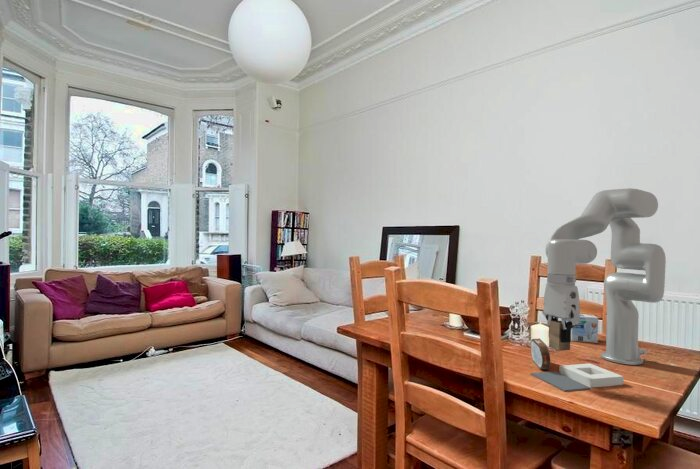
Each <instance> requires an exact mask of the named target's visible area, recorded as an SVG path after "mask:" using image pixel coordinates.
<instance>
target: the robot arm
mask: <svg viewBox="0 0 700 469" xmlns="http://www.w3.org/2000/svg"><path fill="white" fill-rule="evenodd" d="M658 201H659V200H658V198H657V197H656V196H655V195H654V193H652V192H651V191H646V190H642V189H638V188H629V187H628V188H616V189H605V190H604V189H603V190H601V191H599V192H596V193H595V194H594V195H593V197H592V198H591V200H589V203H587V205H586V207H585V208H584V209H583V211H582V213H581V214H580V215H579V216H578V217H575V218H574V219H571V220H570V221H568V222H567V223H564V224H562V225H561V226H560V227H557V228H556V230H555V231H554V232H553V233H552V235H551V236H550V238H549V239H548V241H547V243H546V245H545V246H546V247H545V255H546V258H547V269H546V270H547V272H546V274H547V275H546V276H547V279H546V283H545V290H544V297H543V309H542V311H541V313H542V315H543V316H544V317H545V319H546V321H547V325H548V328H549V327H550V321H559V319H561V320H560V321H562V328H563V329H561V342H562V343H565V342H570V343H571V342H572V341H571V329H573V327H574V326H575V325H576V324H578V323H579V322H580V319H579V317H580V314H581V313H580V312H581V309H580V305H581V304H580V295H579V290H578V286H577V285H576V282H577V279H576V267H577V266H576V265H577V264H580V265H583V264H584V265H585V264H589V263H591V262H593V261H594V260H595V259H596V257H597V255H598V249H597V246H596V244H595V243H594V242H592V241H590V240H589V239H585V238H590V237H592V236H596V235H598V234H599V235H600V234H601V233H603V232H605V230H606V229H607V228H608V227H610V230H611V241H610V242H611V243H610V244H611V245H610V262H611V264H612V266H613V267H615V268H618V269H622V270H632V271H633V270H634V271H635V270H636V271H643V272H645V274H643V273H631V272H612V273H609V274H607V275H606V276H605V279H604V281H603V287H604V293H605V298H606V300H605V301H606V330H605V335H606V338H605V342H606V343H605V351H602V352H600V356H601V358H602V359H604V360H606V361H609V362H613V363H616V364H622V365H632V366H637V365H642V364H644V359H643V358H642V357H641V356H640V355H647V354H648V349H646V348H639V315H640V314H639V311H638V308H637V307H636V305H635V304H634V303H633V301H637V302H644V303H651V304H652V303H653V304H654V303H655V304H656V303H659V302H661V301H662V300H663V298H664V294H665V284H666V282H665V281H666V263H667V262H666V253H665V250H664V248H663V247H662V246H661V245H658V244H657V243H641V229H640V227H639V225H638V224H637V222H635V220H634V219H635V218H636V219H639V218H641V219H642V218H650V217H653V216H655V214H657V211H658V208H659V202H658ZM567 320H568V323H567V324H566V321H567Z"/></svg>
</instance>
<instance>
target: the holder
mask: <svg viewBox="0 0 700 469" xmlns="http://www.w3.org/2000/svg"><path fill="white" fill-rule="evenodd" d="M558 368H559V369H558V370H559V371H558V373H559V374H561V375H564V376H566V377H568V378H570V379H572V380H575V381H577V382H579V383H581V384H583V385H585V386H588V387H590V389H591V388H601V387H614V386H615V387H616V386H623V385H624V376H623V375H621V374H619V373H616V372H613V371H611V370H608V369H605V368H603V367H600V366H598V365H595V364H592V363H581V364H579V363H578V364H576V363H575V364H566V365H565V364H564V365H563V364H562V365H559V367H558Z"/></svg>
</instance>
